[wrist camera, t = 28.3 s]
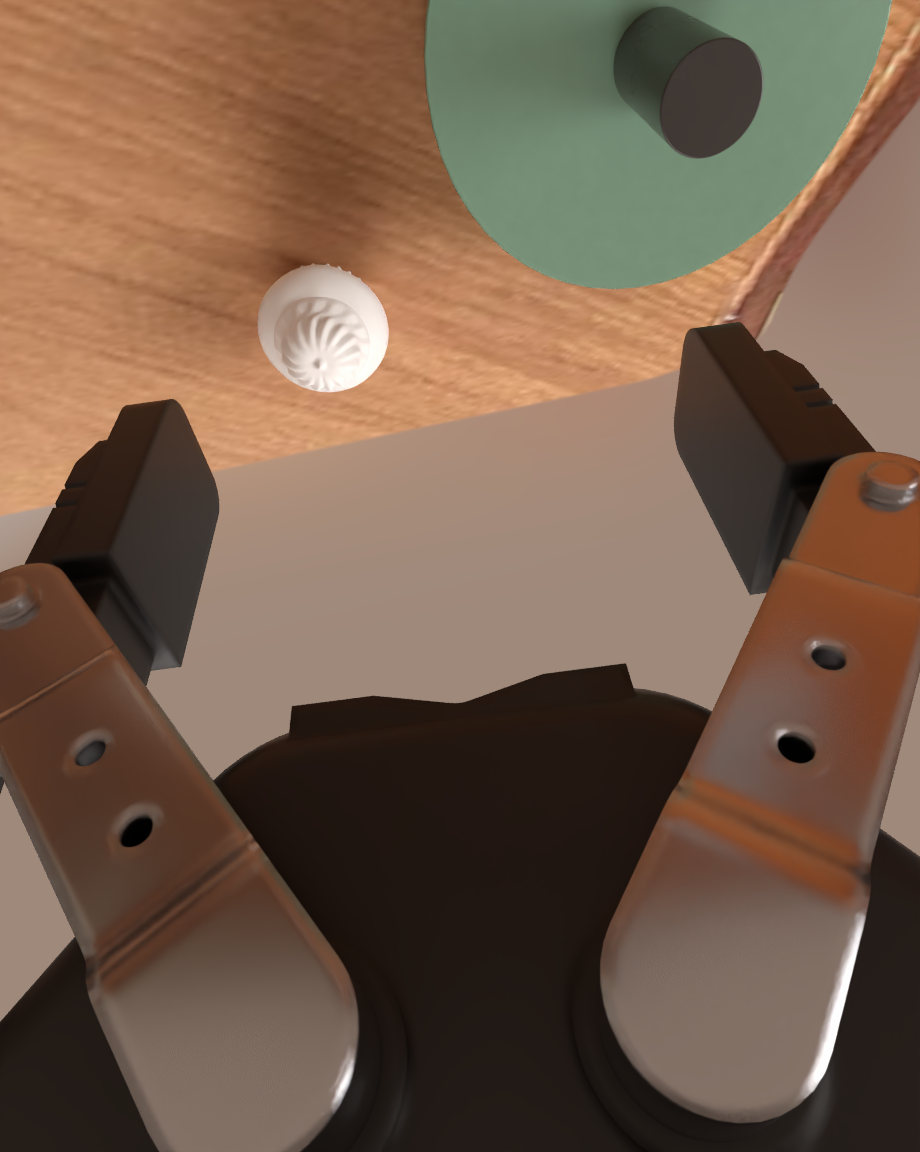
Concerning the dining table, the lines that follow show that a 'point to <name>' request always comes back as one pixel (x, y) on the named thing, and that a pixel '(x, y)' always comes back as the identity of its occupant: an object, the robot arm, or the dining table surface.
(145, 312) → the dining table surface
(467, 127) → the tin lid
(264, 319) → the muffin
